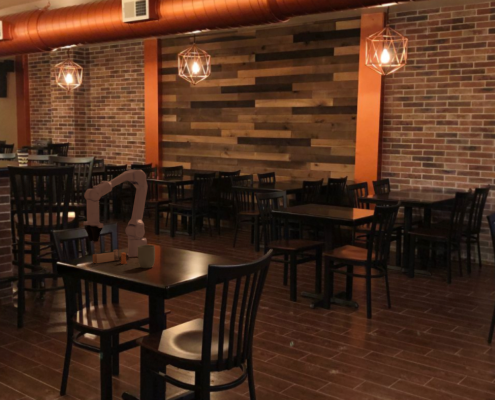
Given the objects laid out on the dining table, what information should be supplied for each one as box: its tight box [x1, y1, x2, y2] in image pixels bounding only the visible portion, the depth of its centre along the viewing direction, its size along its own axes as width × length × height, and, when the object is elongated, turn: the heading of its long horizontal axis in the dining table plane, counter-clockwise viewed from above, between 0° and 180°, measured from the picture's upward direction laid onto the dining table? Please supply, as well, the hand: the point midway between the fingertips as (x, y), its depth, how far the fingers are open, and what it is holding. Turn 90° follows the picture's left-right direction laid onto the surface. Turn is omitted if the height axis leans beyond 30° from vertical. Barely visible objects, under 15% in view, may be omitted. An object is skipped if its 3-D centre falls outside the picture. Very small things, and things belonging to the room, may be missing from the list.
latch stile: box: [120, 252, 128, 265], centre depth 282 cm, size 3×3×5 cm
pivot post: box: [112, 249, 120, 261], centre depth 291 cm, size 3×3×5 cm
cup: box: [137, 244, 156, 269], centre depth 271 cm, size 8×8×10 cm
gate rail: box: [92, 251, 115, 264], centre depth 286 cm, size 11×2×4 cm, turn 136°
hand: (93, 241), depth 286 cm, fingers open, 3 cm apart
